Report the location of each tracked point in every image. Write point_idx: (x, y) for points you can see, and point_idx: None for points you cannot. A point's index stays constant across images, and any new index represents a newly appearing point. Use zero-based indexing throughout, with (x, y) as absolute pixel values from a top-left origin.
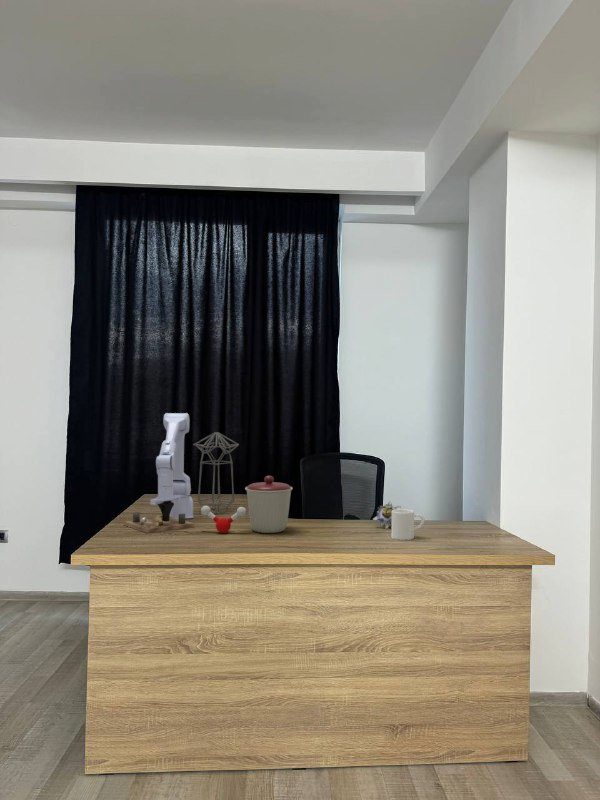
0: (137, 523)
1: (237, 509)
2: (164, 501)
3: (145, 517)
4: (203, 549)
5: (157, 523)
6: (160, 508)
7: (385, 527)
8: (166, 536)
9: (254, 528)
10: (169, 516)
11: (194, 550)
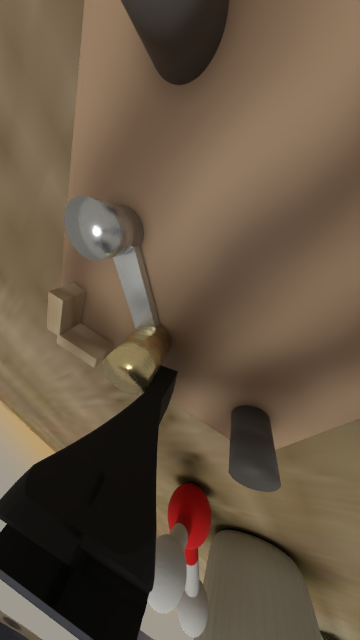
0: (122, 142)
1: (181, 612)
2: (21, 586)
3: (109, 234)
4: (63, 447)
5: (92, 361)
6: (88, 439)
7: (321, 635)
8: (84, 385)
9: (219, 539)
10: (159, 421)
11: (50, 438)
